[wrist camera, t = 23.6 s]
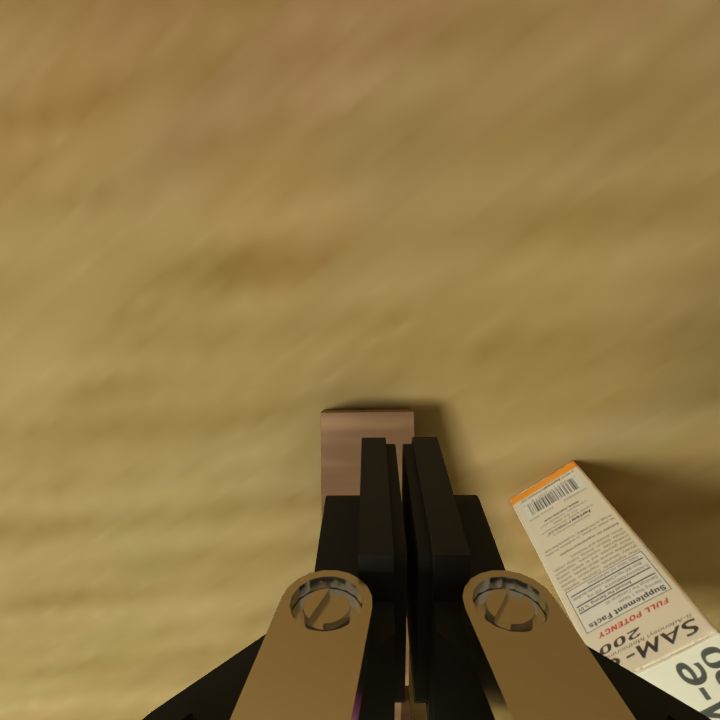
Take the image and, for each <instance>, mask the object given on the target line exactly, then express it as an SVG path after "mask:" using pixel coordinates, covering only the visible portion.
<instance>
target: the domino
mask: <svg viewBox="0 0 720 720" xmlns="http://www.w3.org/2000/svg"><path fill="white" fill-rule="evenodd" d="M372 437H386V444H395V445H396V454H397V464H398V473H399V482H400V491H401V501H402V447H403V444H411V442H412V437H414V412H413V411H412V410H411V409H378V410H323V411H322V412H321V490H322V518H323V511H324V505H325V499H326V496H327V495H360V475H361V443H362V438H372Z"/></svg>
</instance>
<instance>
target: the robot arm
mask: <svg viewBox="0 0 720 720" xmlns="http://www.w3.org/2000/svg"><path fill="white" fill-rule="evenodd" d="M406 617H407V627H408V638H409V649H410V660H411V672H412V683H413V694H414V702H415V703H426V709H427V718H428V720H711V719H710V718H708V717H707V716H705V715H704V714H702V713H700V712H699V711H697V710H695V709H694V708H692V707H690V706H688V705H687V704H685V703H683V702H682V701H680V700H678V699H677V698H675V697H673V696H672V695H670V694H668V693H666V692H665V691H663V690H661V689H660V688H658V687H656V686H655V685H653V684H651V683H650V682H648V681H646V680H644V679H643V678H641V677H639V676H638V675H636V674H634V673H633V672H631V671H629V670H628V669H626V668H624V667H622V666H621V665H619V664H617V663H616V662H614V661H612V660H611V659H609V658H607V657H606V656H604V655H602V654H601V653H599V652H597V651H595V650H594V649H592V648H590V647H589V646H587V645H586V644H585V643H584V641H583V640H582V638H581V637H580V635H579V634H578V632H577V631H576V629H575V628H574V626H573V625H572V623H571V622H570V620H569V619H568V617H567V616H566V614H565V613H564V611H563V610H562V608H561V607H560V605H559V604H558V602H557V601H556V599H555V598H554V597H553V596H552V594H551V593H550V592H549V591H548V590H547V589H546V588H545V587H544V586H543V585H541V584H540V583H538V582H537V581H535V580H534V579H532V578H529V577H527V576H525V575H522V574H520V573H515V572H511V571H506V570H505V568H504V565H503V563H502V560H501V557H500V554H499V552H498V549H497V546H496V544H495V541H494V538H493V536H492V533H491V530H490V527H489V525H488V522H487V519H486V517H485V514H484V511H483V508H482V506H481V503H480V500H479V498H478V496H476V495H453V491H452V488H451V484H450V481H449V477H448V474H447V471H446V467H445V464H444V460H443V457H442V453H441V450H440V446H439V443H438V439H437V437H412V442H411V444H403V447H402V501H401V491H400V482H399V473H398V464H397V454H396V445H395V444H386V437H372V438H362V443H361V475H360V495H327V496H326V499H325V505H324V511H323V518H322V525H321V532H320V539H319V545H318V552H317V559H316V566H315V572H313V573H309V574H307V575H305V576H303V577H301V578H299V579H297V580H296V581H295V582H293V583H292V584H291V585H290V586H289V587H288V588H287V590H286V591H285V593H284V594H283V596H282V598H281V600H280V602H279V605H278V607H277V609H276V612H275V614H274V616H273V619H272V621H271V624H270V626H269V628H268V631H267V633H266V634H265V635H264V636H262V637H261V638H260V639H258V640H257V641H255V642H254V643H252V644H251V645H249V646H248V647H246V648H245V649H243V650H242V651H240V652H239V653H238V654H236V655H235V656H233V657H232V658H230V659H229V660H227V661H226V662H224V663H223V664H221V665H220V666H218V667H217V668H215V669H214V670H213V671H211V672H210V673H208V674H207V675H205V676H204V677H202V678H201V679H199V680H198V681H196V682H195V683H193V684H192V685H190V686H189V687H188V688H186V689H185V690H183V691H182V692H180V693H179V694H177V695H176V696H174V697H173V698H171V699H170V700H168V701H167V702H166V703H164V704H163V705H161V706H160V707H158V708H157V709H155V710H154V711H152V712H151V713H150V714H148V715H147V716H146V717H145V718H144V719H143V720H395V703H405V674H406Z"/></svg>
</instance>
